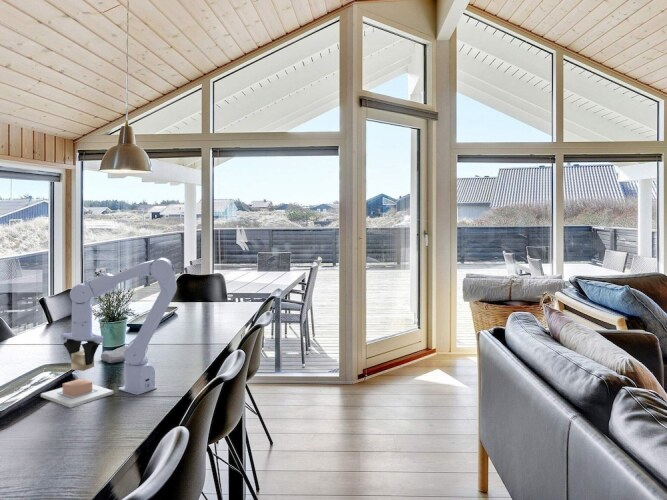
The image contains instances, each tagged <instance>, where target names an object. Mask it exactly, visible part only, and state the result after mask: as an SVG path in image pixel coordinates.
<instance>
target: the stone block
mask: <svg viewBox="0 0 667 500" xmlns="http://www.w3.org/2000/svg"><path fill="white" fill-rule="evenodd" d="M127 348H128V345H123V346H121V347H117V348H116V349H114V350H104V351H102V353H101V355H100V358H101V359H100V360H101V361H103V362H107V363H109V364H115V363H122V362H125V358H124V353H125V351H126V349H127Z"/></svg>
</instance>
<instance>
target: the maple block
mask: <svg viewBox="0 0 667 500" xmlns="http://www.w3.org/2000/svg"><path fill="white" fill-rule="evenodd" d="M70 360H71V361H70V363H71V364H70V366H71V369H70V370H72V371H73V370H74V371H82V372H85V371H87V370H89V369H92V368H94V367H95V357H94V358H93V362H92V364H90V365H86V363H85V353H84V349H83V350H80V351H79V352H76V353H73V354H71V358H70Z"/></svg>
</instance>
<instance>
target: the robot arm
mask: <svg viewBox="0 0 667 500" xmlns="http://www.w3.org/2000/svg"><path fill="white" fill-rule="evenodd" d="M151 275H152V277H153V278H154V279H155V280H156V281H157V283H158V286H159V287H160V292H159V293H158V295H157V297H156V299H155V301H154V303H153V304H152V307H151V309H150V310H149V312H148V314H147V316H146V317H145V320H144V322H143V323H142V325H141V327H140V328H139V331H138V333H137V335H136V337H135V338H134V339H132V340H131V341H130V342H129V343H128V345H127V346H128V348H127V349H126V351H125V353H124V358H125V361H123V362H124V367H123V368H124V385H123V386H120V387H118V390H119V391H122V392H126V393H129V394H133V395H135V396H136V395H137V396H139V395H141V394H144V393H146V392H147V393H148V392H150V391H153V390H156V389H158V386H156V369H155V367H154V366H153V365H151V363H150V362H149V358H148V357H147V356H146V354H147V352H148V349H149V344H150V342H151V339H152V338H153V336H154V334H155V332H156V330H157V329H158V326H159V325H160V323H161V321H162V319H163V316H164V315H165V313H166V311H167V309H168V308H169V306H170V304H171V302H172V300H173V298H174V297H175V294H176V293H177V290H178V285H177V277H176V269H175V267H174V265H173V263H172V261H171V260H170V259H169V258H166V257H158V258H156V260H155V259H152V260H148V261H144V262H141V263H139V264H136V265H134V266H131V267H129V268H127V269H125V270H122V271H120V272H117V273H114V274H111V273H109V272H108V273H107V272H106V273H104V272H102V273H99V274H98V276H97V277H94V278H92V279H85V280H83V283H82V282H80V283H79V284H76V285H75V286H73V287H72V288H71V290H70V292H69V298H70V300H71V332H64V333H60V340H61V341H65V342H63V346H64V347H65V348H66V350H67V352H68V354H69V358H70V359H71V354H73V353H76V352H79V351H81V350H80V349H81V346H82V349H83V350H84V353H85V363H86V365H90V364H92V362H93V358H94V359H95V355H96V352H97V350H98V348H99V346H100V345H101V344H102V343H104V340H105V339H104V338H105V337H104V335H98V334H95V333H94V332H93V306H92V298H97V297H100V296H103V295H104V294H107V293H109V292H112V291H114V290H115V289H116V288H117V285H118V284H121V283H123V282H126V281H129V280H131V279H134V278H137V277H140V276H144V277H150V276H151ZM82 342H84V343H82Z"/></svg>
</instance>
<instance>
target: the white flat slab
mask: <svg viewBox="0 0 667 500" xmlns="http://www.w3.org/2000/svg"><path fill="white" fill-rule="evenodd" d="M114 392H115V391H114V390H113V389H108V388H105V387H103V386H100V385H97V384H94V383H93V381H90V380H86V379H83V378H77V379H75V380H71V381H67V382H64V383H62V387H59V388H56V389H51V390H49V391H45V392H42V393H40V398H43V399H46V400H49V401H50V402H51V401H52V402H54V403H57V404H59V405H62V406H65V407H67V408H75V407H77V406H79V405H80V406H81V405H84V404H87V403H89V402H92V401H96V400H100V399H102V398H105V397H108V396H111V395H113V394H114Z"/></svg>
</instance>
